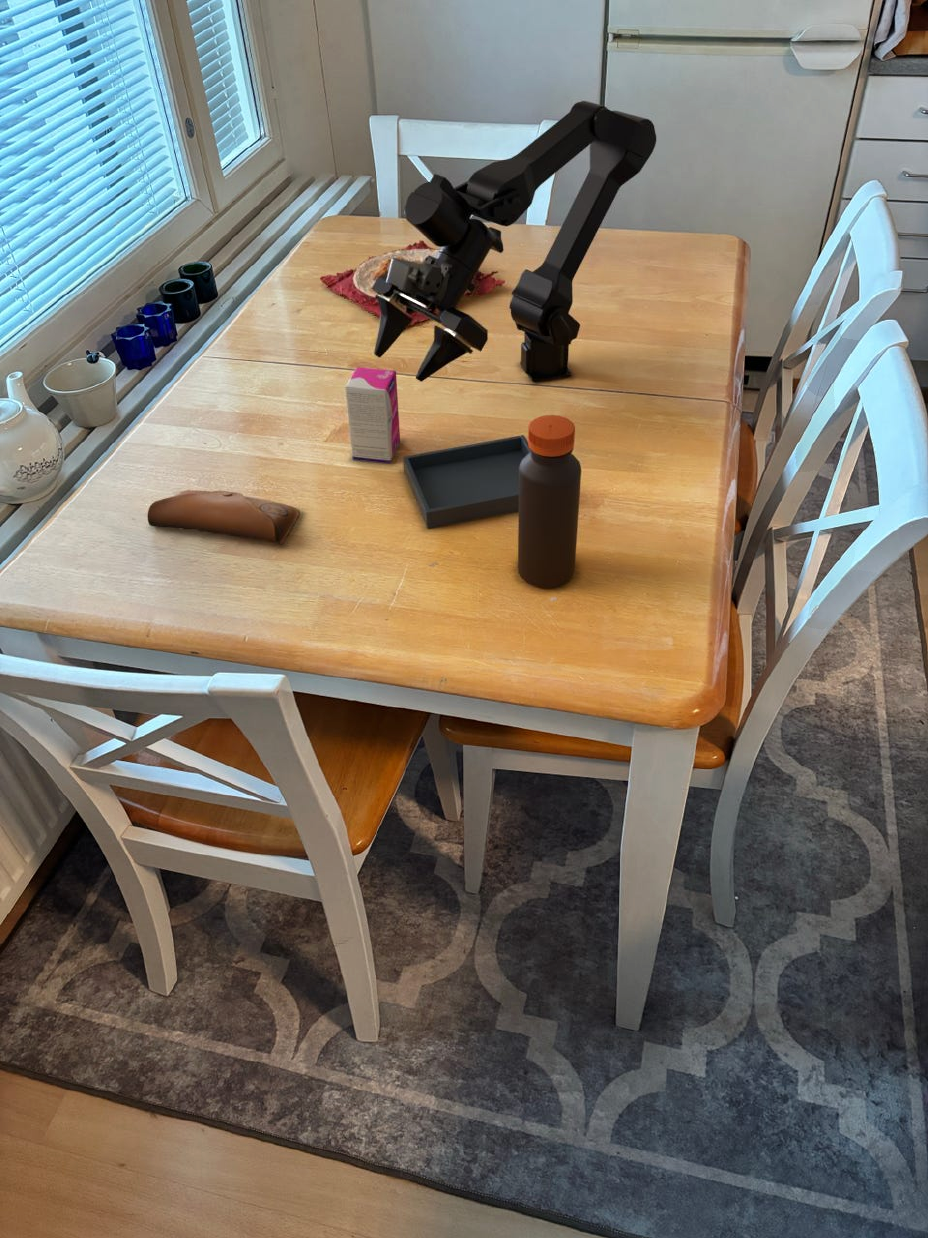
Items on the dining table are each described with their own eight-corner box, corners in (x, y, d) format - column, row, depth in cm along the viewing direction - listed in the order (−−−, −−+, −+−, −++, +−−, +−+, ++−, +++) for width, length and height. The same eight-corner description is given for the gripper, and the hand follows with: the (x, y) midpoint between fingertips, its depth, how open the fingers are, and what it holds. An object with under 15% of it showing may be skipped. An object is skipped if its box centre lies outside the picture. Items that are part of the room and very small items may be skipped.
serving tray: (523, 450, 132) (523, 434, 131) (555, 504, 123) (556, 487, 121) (404, 472, 129) (402, 456, 128) (427, 529, 120) (426, 512, 118)
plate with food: (422, 249, 185) (421, 232, 183) (506, 288, 170) (505, 269, 167) (319, 286, 175) (316, 267, 173) (397, 330, 160) (395, 311, 157)
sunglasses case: (303, 506, 123) (286, 484, 117) (290, 556, 122) (273, 537, 115) (178, 490, 127) (155, 468, 121) (164, 539, 125) (140, 519, 119)
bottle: (581, 584, 111) (592, 438, 98) (526, 594, 110) (528, 448, 97) (565, 549, 116) (573, 405, 102) (511, 558, 115) (512, 414, 102)
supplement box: (392, 464, 131) (385, 390, 123) (351, 460, 132) (341, 386, 124) (402, 441, 135) (396, 368, 127) (362, 438, 136) (354, 365, 128)
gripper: (376, 212, 124) (317, 318, 127) (469, 253, 114) (403, 368, 116) (426, 255, 133) (370, 353, 136) (516, 296, 123) (454, 402, 125)
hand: (397, 367), depth 128 cm, fingers open, 9 cm apart
